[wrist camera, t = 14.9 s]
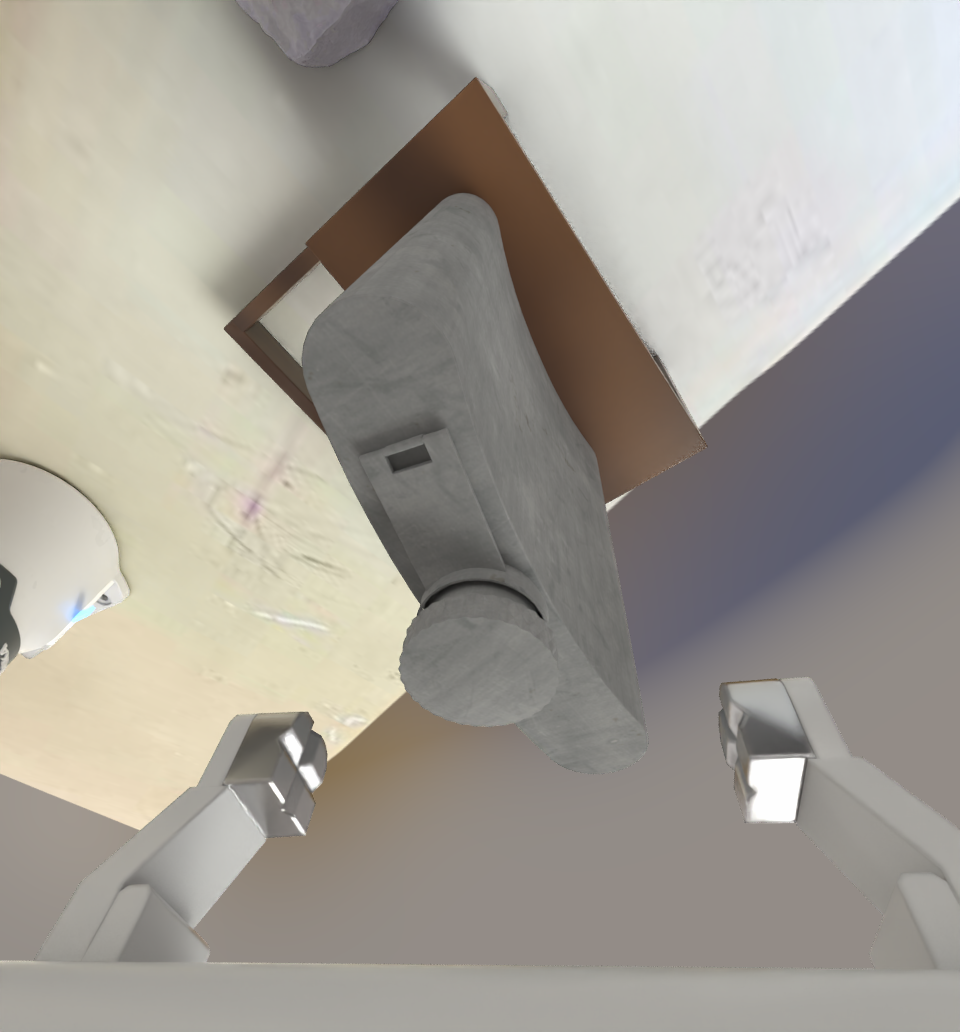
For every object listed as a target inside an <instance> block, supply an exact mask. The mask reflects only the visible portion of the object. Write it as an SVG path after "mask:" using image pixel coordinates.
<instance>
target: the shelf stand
mask: <svg viewBox="0 0 960 1032" xmlns="http://www.w3.org/2000/svg"><path fill="white" fill-rule="evenodd" d="M507 115H508V113H507V111H506V110H505V108H504V106H503V105H502V103H501V101H500V100H499V98H498V97H497V95H496V93H495V92H494V90H493V89H492V88H491V87H489V86H488V85H487V84H485V83H484V82H482V81H481V80H479V79H478V78H477V77H475V78H474V79H473V80H472V81H471V82H470V83H469V84H468V85H467V86H466V87H465V88H464V89H463V90H462V91H461V92H460V93H459V94H458V95H457V96H456V97H455V98H454V99H453V100H451V101H450V102H449V103H448V104H447V105H446V106H445V107H444V108H443V109H442V110H441V111H440V112H439V113H438V114H437V115H436V116H435V117H434V118H433V119H432V120H431V121H430V122H429V123H428V124H427V125H426V126H425V127H424V128H423V129H422V130H421V131H420V132H419V133H418V134H417V135H416V136H415V137H413V138H412V139H411V140H410V141H409V142H408V143H407V144H406V145H405V146H404V147H403V148H402V149H401V150H400V151H399V152H398V153H397V154H396V155H395V156H394V157H393V158H392V159H391V160H390V161H389V162H388V163H387V164H386V165H385V166H384V167H383V168H382V169H381V170H380V171H379V172H378V173H377V174H376V175H374V176H373V177H372V178H371V179H370V180H369V181H368V182H367V183H366V184H365V185H364V186H363V187H362V188H361V189H360V190H359V191H358V192H357V193H356V194H355V195H354V196H353V197H352V198H351V199H350V200H349V201H348V202H347V203H346V204H345V205H344V206H343V207H342V208H341V209H340V210H339V211H338V212H337V213H335V214H334V215H333V216H332V217H331V218H330V219H329V220H328V221H327V222H326V223H325V224H324V225H323V226H322V227H321V228H320V229H319V230H318V231H317V232H316V233H315V234H314V235H313V236H312V237H311V238H310V239H309V240H308V241H307V242H306V243H305V244H306V245H307V248H306V249H305V250H304V251H303V252H302V253H301V254H300V255H299V256H298V257H296V258H295V259H294V260H293V261H292V262H291V263H290V264H289V265H288V266H287V267H286V268H285V269H284V270H283V271H282V272H281V273H280V274H279V275H278V276H277V277H276V278H275V279H274V280H273V281H272V282H271V283H270V284H269V285H268V286H267V287H265V288H264V289H263V290H262V291H261V292H260V293H259V294H258V295H257V296H256V297H255V298H254V299H253V300H252V301H251V302H250V303H249V304H248V305H247V306H246V307H245V308H244V309H243V310H242V311H241V312H240V313H239V314H238V315H237V316H236V317H235V318H233V319H232V320H231V321H230V322H229V323H228V324H227V325H226V326H225V327H224V330H225V331H226V332H227V333H228V334H229V335H230V336H231V337H232V338H233V339H234V340H235V341H236V342H237V343H238V344H239V345H240V346H241V348H242V349H243V350H244V351H245V352H246V353H247V354H248V355H249V356H250V357H251V358H252V359H253V360H254V361H255V362H256V363H257V364H258V365H259V366H260V367H261V368H262V369H263V370H264V371H265V372H266V373H267V374H268V375H269V376H270V377H271V378H272V379H273V380H274V381H275V382H276V383H277V385H278V386H279V387H280V388H281V389H282V390H283V391H284V392H285V393H286V394H287V395H288V396H289V397H290V398H291V399H292V400H293V401H294V402H295V403H296V404H297V405H298V406H299V407H300V408H301V409H302V410H303V411H304V412H305V413H306V414H307V415H308V416H309V417H310V418H311V419H312V420H313V421H314V423H315V424H316V425H317V426H318V427H319V428H320V429H321V430H322V431H323V432H324V433H325V434H326V431H325V429H324V427H323V424H322V422H321V420H320V417H319V415H318V413H317V410H316V408H315V406H314V403H313V401H312V399H311V396H310V394H309V392H308V389H307V386H306V383H305V379H304V376H303V368H302V367H301V366H300V365H299V364H298V363H297V362H296V361H295V360H294V359H293V358H292V357H291V356H290V355H289V354H288V352H287V351H286V350H285V349H284V348H283V347H282V346H281V345H280V344H279V343H278V342H277V341H276V340H275V339H274V338H273V336H272V335H271V334H270V333H269V332H268V331H267V330H266V329H265V328H264V327H263V326H262V325H261V324H260V323H259V322H258V321H259V320H260V319H262V318H263V317H264V316H265V315H266V314H267V313H268V312H269V311H270V310H271V309H272V308H273V307H274V306H275V305H276V304H277V303H279V302H280V301H281V300H282V299H283V298H284V297H285V296H286V295H287V294H288V293H289V292H290V291H291V290H292V289H293V288H294V287H296V286H297V285H298V284H299V283H300V282H301V281H302V280H303V279H304V278H305V277H306V276H307V275H308V274H309V273H310V272H312V271H313V270H314V269H315V268H316V267H317V266H318V265H319V264H320V263H322V264H323V265H324V267H325V268H326V269H327V270H328V271H329V273H330V274H331V275H332V276H333V277H334V279H335V280H336V281H337V282H338V283H339V284H340V286H341V287H342V288H343V289H344V290H346V289H347V288H348V287H350V286H351V285H352V284H353V283H354V282H355V281H356V280H357V279H358V278H359V277H360V276H361V275H362V274H364V273H365V272H366V271H367V270H368V269H369V268H370V267H371V266H372V265H373V264H374V263H375V262H376V261H378V260H379V259H380V258H381V257H382V256H383V255H384V254H385V253H386V252H387V251H388V250H389V249H390V248H392V247H393V246H394V245H395V244H396V243H397V242H398V241H399V240H400V239H401V238H402V237H403V236H404V235H406V234H407V233H408V232H409V231H410V230H411V229H412V228H413V227H414V226H415V225H416V224H417V223H418V222H420V221H421V220H422V219H423V218H424V217H425V216H426V215H427V214H428V213H429V212H430V211H431V210H433V209H434V208H435V207H436V206H437V205H438V204H439V203H440V202H441V201H442V200H444V199H445V198H447V197H448V196H451V195H454V194H458V193H469V194H473V195H476V196H478V197H480V198H481V199H483V200H484V201H485V202H486V203H487V204H489V206H490V207H491V208H492V210H493V211H494V213H495V215H496V217H497V220H498V224H499V228H500V233H501V238H502V243H503V248H504V252H505V256H506V260H507V264H508V268H509V272H510V276H511V279H512V282H513V286H514V289H515V293H516V296H517V299H518V302H519V305H520V308H521V311H522V314H523V317H524V319H525V322H526V325H527V327H528V330H529V332H530V335H531V337H532V340H533V342H534V344H535V347H536V349H537V352H538V354H539V356H540V358H541V361H542V363H543V365H544V368H545V370H546V372H547V374H548V376H549V378H550V380H551V382H552V384H553V387H554V389H555V391H556V392H557V394H558V396H559V398H560V400H561V402H562V403H563V405H564V407H565V409H566V410H567V412H568V414H569V415H570V417H571V419H572V420H573V422H574V424H575V425H576V427H577V428H578V430H579V431H580V433H581V434H582V436H583V437H584V438H585V440H586V441H587V442H588V444H589V445H590V446H591V448H592V449H593V451H594V453H595V455H596V458H597V463H598V468H599V474H600V479H601V485H602V490H603V495H604V501H605V504H606V503H608V502H610V501H612V500H614V499H615V498H617V497H619V496H621V495H623V494H624V493H626V492H628V491H630V490H632V489H633V488H635V487H637V486H639V485H641V484H642V483H644V482H646V481H648V480H650V479H651V478H653V477H655V476H657V475H659V474H660V473H662V472H664V471H666V470H668V469H669V468H671V467H673V466H675V465H677V464H678V463H680V462H682V461H684V460H686V459H687V458H689V457H691V456H693V455H695V454H696V453H698V452H700V451H702V450H704V449H706V448H707V444H706V443H705V441H704V439H703V437H702V435H701V433H700V431H699V429H698V427H697V426H696V424H695V422H694V420H693V418H692V416H691V414H690V412H689V411H688V409H687V407H686V405H685V403H684V401H683V399H682V397H681V395H680V394H679V392H678V390H677V388H676V386H675V384H674V382H673V380H672V379H671V377H670V375H669V373H668V371H667V369H666V368H665V366H664V365H663V363H662V361H661V360H660V358H659V357H658V355H657V356H655V357H652V355H651V354H650V352H649V350H648V349H647V347H646V346H645V344H644V342H643V341H642V339H641V338H640V336H639V334H638V333H637V331H636V330H635V328H634V326H633V325H632V323H631V322H630V320H629V318H628V317H627V315H626V314H625V312H624V310H623V309H622V307H621V306H620V304H619V302H618V301H617V299H616V298H615V296H614V294H613V293H612V291H611V290H610V288H609V286H608V285H607V283H606V282H605V280H604V278H603V277H602V275H601V274H600V272H599V270H598V269H597V267H596V266H595V264H594V262H593V261H592V259H591V258H590V256H589V254H588V253H587V251H586V250H585V248H584V246H583V245H582V243H581V242H580V240H579V238H578V237H577V235H576V234H575V232H574V230H573V229H572V227H571V226H570V224H569V222H568V221H567V219H566V218H565V216H564V214H563V213H562V211H561V210H560V208H559V206H558V205H557V203H556V202H555V200H554V198H553V197H552V195H551V194H550V192H549V190H548V189H547V187H546V186H545V184H544V182H543V181H542V179H541V178H540V176H539V174H538V173H537V171H536V170H535V168H534V166H533V165H532V163H531V162H530V160H529V158H528V157H527V155H526V154H525V152H524V150H523V149H522V147H521V146H520V144H519V142H518V141H517V139H516V138H515V136H514V134H513V133H512V131H511V130H510V128H509V126H508V125H507V123H506V122H505V120H504V117H505V116H507ZM326 435H327V434H326Z"/></svg>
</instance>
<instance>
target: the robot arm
mask: <svg viewBox="0 0 960 1032" xmlns="http://www.w3.org/2000/svg"><path fill="white" fill-rule="evenodd" d="M129 594H130V589H129V586H128V584H127V582H126V580H125V578H124V576H123V575H122V573H121V571H120V567H119V551H118V545H117V542H116V539H115V536H114V534H113V532H112V530H111V528H110V526H109V524H108V523H107V521H106V520H105V518H104V517H103V516H102V514H101V513H100V512H99V511H98V509H97V508H96V507H95V506H94V505H93V504H92V503H91V502H90V501H89V500H88V499H87V498H86V497H85V496H84V495H82V494H81V493H80V492H79V491H77V490H76V489H75V488H74V487H72V486H71V485H69V484H68V483H66V482H65V481H63V480H61V479H60V478H58V477H56V476H54V475H53V474H51V473H49V472H47V471H44V470H42V469H40V468H37V467H35V466H32V465H29V464H26V463H22V462H18V461H13V460H7V459H0V675H1V674H2V673H3V671H4V670H5V669H6V667H7V665H8V664H9V663H10V662H11V661H12V660H13V659H14V658H15V657H16V656H17V654H21V655H23V656H24V657H25V658H28V659H31V658H33V657H35V656H36V655H38V654H39V653H40V652H42V651H43V650H47V649H49V648H50V647H51V646H53V645H54V644H55V643H56V642H57V641H58V640H59V639H60V638H61V637H62V636H63V635H64V634H65V633H66V632H67V631H68V630H69V629H70V628H71V627H72V626H73V625H74V624H75V623H76V622H77V621H78V620H81V619H83V618H85V617H87V616H90V615H92V614H95V613H97V612H100V611H102V610H105V609H107V608H110V607H112V606H114V605H117V604H119V603H121V602H122V601H124V600H125V599H126V598H127V597H128V596H129ZM719 697H720V700H721V703H722V707H723V709H722V710H721V711H720V712H719V733H720V740H721V745H722V748H723V752H724V756H725V760H726V763H727V765H728V766H730V767H731V768H732V769H733V770H734V771H735V772H734V790H735V793H736V796H737V799H738V802H739V806H740V809H741V812H742V815H743V818H744V822H745V823H788V822H789V823H797V826H798V827H799V828H800V829H801V830H802V832H803V833H804V834H805V835H806V836H807V837H808V838H809V839H810V840H811V841H812V842H813V843H814V844H815V845H816V846H817V847H818V848H819V849H820V850H821V851H822V852H823V853H824V854H825V855H826V856H827V857H828V858H829V860H830V861H831V862H832V863H833V864H834V865H835V866H836V867H837V868H838V869H839V870H840V871H841V872H842V873H843V874H844V875H845V876H846V877H847V878H848V879H849V880H850V881H851V882H852V884H853V885H854V886H855V887H856V888H857V889H858V890H859V891H860V892H861V893H862V894H863V895H864V896H865V897H866V898H867V899H868V900H869V901H870V902H871V903H872V904H873V905H874V906H875V908H876V909H877V910H878V911H879V912H880V913H881V914H882V915H883V916H884V917H883V919H882V922H881V924H880V927H879V930H878V932H877V935H876V938H875V940H874V943H873V945H872V948H871V951H870V953H869V956H870V959H871V961H872V964H873V966H874V969H841V968H839V969H837V968H836V969H835V968H834V969H833V968H736V967H734V968H732V967H631V966H627V967H626V966H528V965H526V966H525V965H424V964H423V965H422V964H421V965H419V964H416V965H415V964H315V963H313V964H312V963H310V964H309V963H206V962H207V959H208V956H209V954H210V949H209V946H208V944H207V943H206V942H205V941H204V940H203V939H202V938H201V937H200V936H199V935H198V934H197V933H196V931H194V928H195V926H196V925H197V924H198V923H199V921H200V920H201V919H202V918H203V917H204V915H205V914H206V913H207V912H208V911H209V909H210V908H211V907H212V906H213V904H214V903H215V902H216V901H217V900H218V898H219V897H220V896H221V894H222V893H223V892H224V891H225V890H226V889H227V887H228V886H229V885H230V884H231V882H232V881H233V880H234V879H235V878H236V877H237V875H238V874H239V873H240V872H241V870H242V869H243V868H244V867H245V866H246V864H247V863H248V862H249V860H251V858H252V857H253V856H254V855H255V853H256V852H257V851H258V850H259V849H260V847H261V846H262V845H263V844H264V842H265V841H266V839H265V838H274V837H290V836H305V835H306V832H307V829H308V825H309V822H310V819H311V816H312V813H313V810H314V807H315V801H314V798H313V795H312V793H313V792H314V790H315V789H316V788H317V787H318V786H319V785H320V784H321V783H322V782H323V779H324V775H325V772H326V767H327V750H326V745H325V742H324V740H323V738H322V736H321V735H319V734H317V733H316V732H314V731H313V730H311V729H312V726H313V724H314V721H313V720H312V718H311V716H310V715H309V713H308V712H287V713H261V714H243V715H236V716H235V717H234V718H233V719H232V720H231V721H230V722H229V724H228V726H227V728H226V730H225V732H224V734H223V736H222V738H221V740H220V742H219V744H218V746H217V748H216V750H215V752H214V754H213V756H212V758H211V759H210V761H209V763H208V765H207V767H206V769H205V771H204V773H203V775H202V777H201V779H200V781H199V783H198V785H197V787H190V788H189V789H187V790H186V791H185V792H184V793H183V794H182V795H181V796H179V797H178V798H177V799H176V800H175V801H174V802H172V803H171V804H170V805H169V806H168V807H167V808H166V809H164V810H163V811H162V812H161V813H160V814H159V815H157V816H156V817H155V818H154V819H153V820H152V821H151V822H149V823H148V824H147V825H146V826H145V827H144V828H143V829H141V830H140V831H139V832H138V833H137V834H136V835H135V836H133V837H132V838H131V839H130V840H129V841H128V842H126V843H125V844H124V845H123V846H122V847H121V848H119V849H118V850H117V851H116V852H115V853H114V854H113V855H111V856H110V857H109V858H108V859H107V860H106V861H104V862H103V863H102V864H101V865H100V866H99V867H98V868H96V869H95V870H94V871H93V872H92V873H91V874H90V875H88V876H87V877H86V878H85V879H84V880H83V881H81V882H80V883H79V885H78V887H77V888H76V890H75V892H74V893H73V895H72V897H71V898H70V900H69V902H68V904H67V906H66V907H65V908H64V910H63V912H62V913H61V915H60V917H59V919H58V920H57V922H56V923H55V925H54V927H53V928H52V930H51V932H50V934H49V935H48V937H47V938H46V940H45V942H44V943H43V945H42V947H41V948H40V951H39V952H38V954H37V955H36V957H35V958H34V960H33V961H0V1032H960V828H958V827H957V826H955V825H954V824H953V823H951V822H950V821H949V820H947V819H946V818H945V817H943V816H942V815H941V814H939V813H938V812H936V811H935V810H934V809H932V808H931V807H929V806H928V805H927V804H926V803H924V802H923V801H922V800H920V799H919V798H917V797H916V796H914V795H913V794H912V793H911V792H909V791H908V790H906V789H905V788H903V787H902V786H901V785H900V784H898V783H897V782H896V781H894V780H893V779H891V778H890V777H889V776H887V775H886V774H885V773H883V772H882V771H881V770H879V769H878V768H877V767H875V766H874V765H873V764H871V763H870V762H868V761H867V760H866V759H864V758H863V757H852V755H851V753H850V751H849V749H848V747H847V745H846V743H845V741H844V739H843V737H842V735H841V733H840V731H839V729H838V727H837V726H836V724H835V722H834V720H833V718H832V716H831V714H830V712H829V710H828V708H827V706H826V704H825V702H824V700H823V698H822V696H821V694H820V692H819V690H818V688H817V686H816V684H815V682H814V681H813V680H812V679H811V678H810V677H801V678H786V679H779V680H778V679H764V680H752V681H739V682H727V683H721V685H720V692H719Z"/></svg>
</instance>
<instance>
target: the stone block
mask: <svg viewBox="0 0 960 1032" xmlns="http://www.w3.org/2000/svg"><path fill="white" fill-rule="evenodd" d="M235 1H236V2H237V3H238V4H239V6H240V7H241V8H242V9H243V10H244V11H245V12H246V13H247V14H248V15H249V16H250V17H251V18H252V19H253V20H254V21H255V22H257V23H259V24H260V25H261V28H262V30H263V32H264V33H265V34H267V35H268V36H270V37H271V38H273V39H274V40H275V42H276V43H277V45H278V46H279V47H280V48H281V49H282V50H283V51H284V53H285V54H286V55H287V57H288V58H289V59H290V60H293V61H294V62H296V63H297V64H299V65H303V66H305V67H325V66H331V65H333V64H335V63H337V62H339V61H340V60H341V59H342V58H344V57H346V56H347V55H349V54H350V53H352V52H355V51H357V50H358V49H360V48H362V47H364V46H365V45H367V44H368V43H369V42H370V40H371V39H372V38H373V36H374V34H375V32H376V30H377V29H378V27H379V26H380V25H381V23H382V22H383V21H384V20H385V18H386V17H387V15H388V13H389V12H390V10H391V9H392V8H393V6H394V5H395V4H396V3H397V1H398V0H235Z"/></svg>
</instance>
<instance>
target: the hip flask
mask: <svg viewBox="0 0 960 1032" xmlns="http://www.w3.org/2000/svg"><path fill="white" fill-rule="evenodd" d="M302 368H303V376H304V379H305V383H306V386H307V389H308V392H309V394H310V396H311V399H312V401H313V403H314V406H315V408H316V410H317V413H318V415H319V417H320V420H321V422H322V424H323V427H324V429H325V431H326V434H327V436H328V438H329V440H330V443H331V445H332V447H333V449H334V451H335V453H336V455H337V457H338V460H339V462H340V464H341V466H342V468H343V470H344V472H345V475H346V477H347V479H348V481H349V483H350V485H351V487H352V489H353V491H354V492H355V494H356V496H357V498H358V500H359V502H360V504H361V506H362V508H363V510H364V511H365V513H366V515H367V517H368V519H369V521H370V523H371V524H372V526H373V528H374V530H375V531H376V533H377V535H378V537H379V539H380V540H381V542H382V544H383V546H384V547H385V549H386V551H387V553H388V554H389V556H390V558H391V559H392V561H393V563H394V564H395V566H396V567H397V569H398V571H399V572H400V574H401V575H402V577H403V579H404V580H405V582H406V583H407V585H408V587H409V588H410V590H411V591H412V593H413V594H414V596H415V597H416V599H417V600H418V602H419V603H420V608H419V610H418V613H417V617H415V618H414V619H413V620H412V623H411V626H410V627H409V628H408V629H407V636H406V638H405V640H404V643H403V652H402V654H401V656H400V659H399V660H400V666H399V672H400V674H401V681H402V682H403V684H404V686H405V690H406V691H407V692H408V693H409V694H410V695H411V697H412V699H413V700H414V701H416V702H418V703H419V704H420V705H421V707H422V708H424V709H426V710H429V711H430V712H431V713H432V714H434V715H436V716H440V717H442V718H444V719H445V720H448V721H453V722H456V723H459V724H462V725H463V724H464V725H465V724H466V725H472V726H476V727H477V726H486V727H492V726H496V725H500V726H504V725H507V724H510V723H514V724H515V725H516V726H517V727H518V728H519V729H520V730H521V731H522V732H523V733H524V734H525V735H526V736H527V737H528V738H529V739H530V740H531V741H532V742H533V743H534V744H535V745H536V746H538V747H539V748H540V749H541V750H542V751H543V752H544V753H545V754H546V755H547V756H548V757H549V758H550V759H552V760H553V761H554V762H556V763H557V764H558V765H560V766H562V767H564V768H567V769H569V770H572V771H575V772H580V773H588V774H604V773H611V772H615V771H619V770H622V769H624V768H627V767H629V766H631V765H632V764H634V763H635V762H637V761H638V760H639V759H640V758H641V757H642V756H643V755H644V753H645V752H646V750H647V747H648V733H647V728H646V723H645V718H644V712H643V707H642V701H641V696H640V690H639V685H638V679H637V674H636V668H635V663H634V658H633V652H632V647H631V641H630V636H629V631H628V626H627V620H626V614H625V609H624V604H623V599H622V593H621V587H620V582H619V577H618V571H617V566H616V561H615V555H614V550H613V544H612V539H611V533H610V528H609V523H608V517H607V512H606V506H605V501H604V495H603V490H602V485H601V479H600V474H599V468H598V463H597V458H596V455H595V453H594V451H593V449H592V448H591V446H590V445H589V444H588V442H587V441H586V440H585V438H584V437H583V436H582V434H581V433H580V431H579V430H578V428H577V427H576V425H575V424H574V422H573V420H572V419H571V417H570V415H569V414H568V412H567V410H566V409H565V407H564V405H563V403H562V402H561V400H560V398H559V396H558V394H557V392H556V391H555V389H554V387H553V384H552V382H551V380H550V378H549V376H548V374H547V372H546V370H545V368H544V365H543V363H542V361H541V358H540V356H539V354H538V352H537V349H536V347H535V344H534V342H533V340H532V337H531V335H530V332H529V330H528V327H527V325H526V322H525V319H524V317H523V314H522V311H521V308H520V305H519V302H518V299H517V296H516V293H515V289H514V286H513V282H512V279H511V276H510V272H509V268H508V264H507V260H506V256H505V252H504V248H503V243H502V238H501V233H500V228H499V224H498V220H497V217H496V215H495V213H494V211H493V210H492V208H491V207H490V206H489V204H487V203H486V202H485V201H484V200H483V199H481V198H480V197H478V196H476V195H473V194H469V193H458V194H454V195H451V196H448V197H447V198H445V199H444V200H442V201H441V202H440V203H439V204H438V205H437V206H436V207H435V208H434V209H433V210H431V211H430V212H429V213H428V214H427V215H426V216H425V217H424V218H423V219H422V220H421V221H420V222H418V223H417V224H416V225H415V226H414V227H413V228H412V229H411V230H410V231H409V232H408V233H407V234H406V235H404V236H403V237H402V238H401V239H400V240H399V241H398V242H397V243H396V244H395V245H394V246H393V247H392V248H390V249H389V250H388V251H387V252H386V253H385V254H384V255H383V256H382V257H381V258H380V259H379V260H378V261H376V262H375V263H374V264H373V265H372V266H371V267H370V268H369V269H368V270H367V271H366V272H365V273H364V274H362V275H361V276H360V277H359V278H358V279H357V280H356V281H355V282H354V283H353V284H352V285H351V286H350V287H348V288H347V289H346V290H345V291H344V292H343V293H342V294H341V295H340V296H339V297H338V298H337V299H335V300H334V301H333V302H332V303H331V304H330V305H329V306H328V307H327V308H326V309H325V310H324V311H323V312H322V313H321V314H320V315H319V316H318V317H317V318H316V319H315V321H314V322H313V324H312V326H311V327H310V329H309V331H308V333H307V336H306V339H305V342H304V345H303V353H302Z"/></svg>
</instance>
